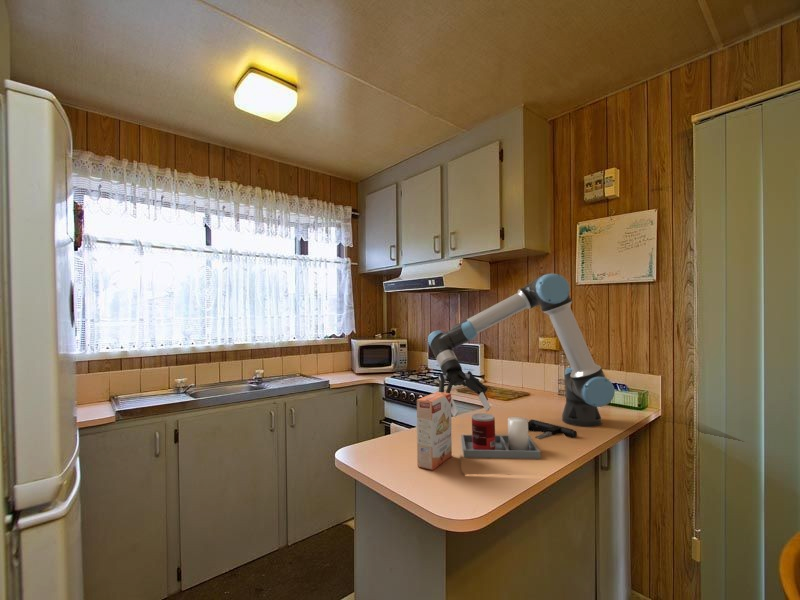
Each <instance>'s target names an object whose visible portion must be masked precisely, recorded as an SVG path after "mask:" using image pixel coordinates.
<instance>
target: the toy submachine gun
mask: <svg viewBox="0 0 800 600" xmlns="http://www.w3.org/2000/svg"><path fill="white" fill-rule="evenodd" d="M529 430H530V432H533V433H534V432H535V433H539V432H540V433H541V434H539V435H536V436H535V439H538V440H542V439H544V438H547V437H551V436H554V435H558V434H562V435H564V436H566V437H568V438H577V436H578V435H577V433H578V432H577V431H576V430H574V429H572V428H568V427H566V426H565V427H563V426H560V425H556V424H552V423H548V422H545V421H541V420H540V421H539V420H537V419H533V418H532V419H529V420H528V431H529Z"/></svg>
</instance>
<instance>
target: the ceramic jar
mask: <svg viewBox="0 0 800 600" xmlns="http://www.w3.org/2000/svg"><path fill="white" fill-rule="evenodd" d="M528 422H529V419H527V418H525V417H521V416H520V417H519V416H512V417H508V418H507V435H508V446H509V450H521V451H529V436H530V435H529V430H528Z"/></svg>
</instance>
